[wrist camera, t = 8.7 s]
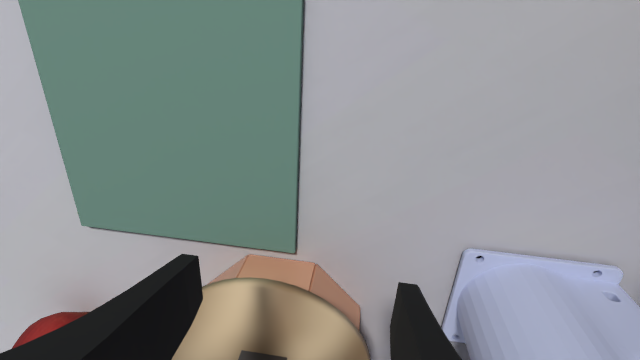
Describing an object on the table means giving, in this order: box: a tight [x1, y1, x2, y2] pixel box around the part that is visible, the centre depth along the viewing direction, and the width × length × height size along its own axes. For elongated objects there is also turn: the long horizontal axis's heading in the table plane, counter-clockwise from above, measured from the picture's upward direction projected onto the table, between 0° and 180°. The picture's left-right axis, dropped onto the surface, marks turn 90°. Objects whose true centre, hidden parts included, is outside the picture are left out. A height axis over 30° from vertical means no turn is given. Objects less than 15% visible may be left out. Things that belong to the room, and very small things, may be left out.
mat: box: [18, 0, 304, 253], centre depth 22 cm, size 16×16×1 cm
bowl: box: [207, 254, 360, 331], centre depth 26 cm, size 12×12×4 cm
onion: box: [12, 312, 89, 349], centre depth 27 cm, size 6×6×8 cm
